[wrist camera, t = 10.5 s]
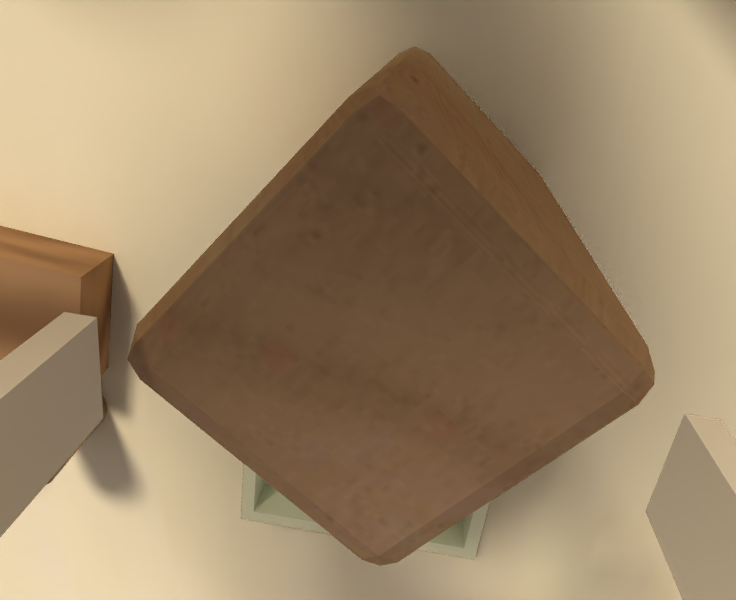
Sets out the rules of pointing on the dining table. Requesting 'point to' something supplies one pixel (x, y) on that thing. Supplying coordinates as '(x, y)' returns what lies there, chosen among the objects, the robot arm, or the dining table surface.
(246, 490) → the tray
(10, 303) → the wooden book-shaped slab
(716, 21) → the dining table surface
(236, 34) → the dining table surface
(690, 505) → the robot arm
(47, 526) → the dining table surface
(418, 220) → the block
